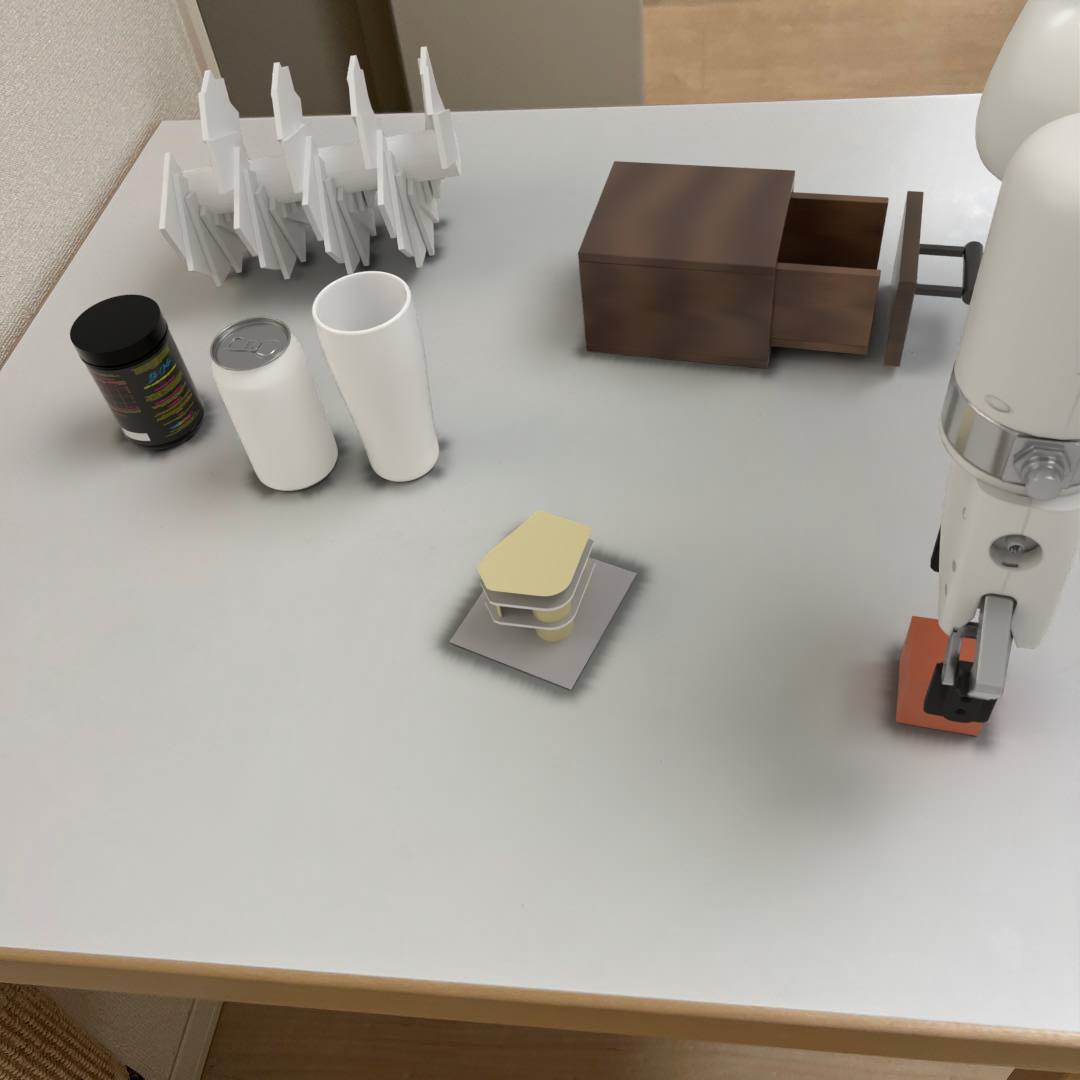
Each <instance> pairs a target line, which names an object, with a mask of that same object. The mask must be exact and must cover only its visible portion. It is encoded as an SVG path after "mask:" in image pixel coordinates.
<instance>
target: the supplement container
mask: <svg viewBox="0 0 1080 1080" xmlns="http://www.w3.org/2000/svg"><path fill="white" fill-rule="evenodd" d="M69 338H70V342H71V343H72V345H73V348H75V350H76V352H77V354H78V356H79V358H80V360H81V361H82V362H83V363H84V365H85V367H86V369H87V371H88V372H89V374H90V376H91V378H92V380H93V381H94V383H95V385H96V388H97V389H98V390H99V392H100V394H101V396H102V398H103V400H104V401H105V404H106V405H107V406H108V408H109V410H110V412H111V413H112V415H113V417H114V419H115V420H116V423H117V425H118V426H119V428H120V429H121V432H122V433H123V435H124V437H125V438H126V439H127V441H129V442H130V443H131V444H133V445H134V446H136V447H139V448H141V449H145V450H150V451H151V450H153V451H154V450H156V451H159V450H165V449H170V448H173V447H176V446H178V445H180V444H183V443H184V442H185V441H187V440H189V439H190V438H191V437H192V436H193V435H194V434H196V432H197V431H198V430H199V428H200V426H201V425H202V423H203V421H204V417H205V410H206V409H205V404H204V402H203V401H204V400H203V399H202V397H201V395H200V393H199V390H198V389H197V386H196V385H195V381H194V380H193V378H192V376H191V374H190V371H189V369H188V367H187V364H186V362H185V360H184V358H183V357H182V354H181V352H180V349H179V347H178V346H177V343H176V341H175V339H174V337H173V334H172V332H171V330H170V328H169V324H168V322H167V320H166V319H165V316H164V314H163V312H162V310H161V308H160V306H159V304H158V303H157V301H156V300H154V299H153V298H150V297H149V296H145V295H141V294H132V293H131V294H120V295H116V296H113V297H108V298H106V299H103V300H100V301H98V302H97V303H95V304H93V305H91V306H90V307H88V308H86V310H84V311H83V312H82V313H80V314H79V316H77V317H76V319H75V320H74V321H73V323H72V325H71V326H70V331H69Z"/></svg>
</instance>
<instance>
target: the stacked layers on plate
mask: <svg viewBox="0 0 1080 1080" xmlns="http://www.w3.org/2000/svg"><path fill="white" fill-rule="evenodd" d="M592 531H593V527H591V526H589V525H586V524H584V523H583V524H582V523H580V522H576V521H574V520H570V519H567V518H564V517H561V516H558V515H556V514H552V513H549V512H546V511H543V510H537V511H536V512H535V513H534V514H532V515H531V516H530V517H529V518H528V519H526V520H525V521H523V522H522V523H521V524H520V525H519V526H518V527H517V528H516V529H514V530H513V531H512V532H511V533H510V534H508V535H507V536H506V537H505V538H504V539H503V540H501V541H500V542H499V543H498V544H496V545H495V546H494V547H492V549H490V550H489V551H488V552H487V553H486V555H485V556H484V558H483V559H482V561H481V562H480V563H479V565H478V567H477V568H476V569H477V572H478V575H479V576H480V580H479V583H480V586H481V587H482V589H483V590H482V591H481V593H480V595H479V596H478V598H477V599H476V600H475V602H474V604H473V605H472V607H471V608H470V610H469V611H468V613H467V615H466V616H465V617H464V619H463V621H462V622H461V623H460V625H459V626H458V628H457V630H456V631H455V633H454V634H453V635H452V637H451V639H450V640H449V643H450V644H453V645H456V646H458V647H460V648H462V649H466V650H467V651H471V652H473V653H476V654H478V655H481V656H483V657H486V658H488V659H491V660H494V661H496V662H499V663H501V664H504V665H506V666H509V667H511V668H515V669H517V670H519V671H522V672H524V673H527V674H529V675H532V676H534V677H537V678H539V679H542V680H544V681H547V682H550V683H553V684H555V685H557V686H560V687H562V688H565V689H568V690H573V687H574V686H575V684H576V682H577V680H578V679H579V677H580V675H581V674H582V671H583V670H584V668H585V666H586V664H587V663H588V661H589V659H590V657H591V655H592V654H593V652H594V650H595V648H596V647H597V645H598V643H599V641H600V639H602V636H603V634H604V632H605V631H606V629H607V627H608V626H609V624H610V622H611V620H612V618H613V617H614V615H615V613H616V611H617V610H618V607H620V604H621V602H623V600H624V597H625V595H626V594H627V592H628V590H629V589H630V587H631V585H632V583H633V582H634V580H635V578H636V576H637V574H638V573H637V572H634V571H631V570H628V569H625V568H623V567H620V566H616V565H613V564H610V563H607V562H604V561H602V560H599V559H596V558H593V557H590V555H591V552H592V550H593V547H594V545H595V543H594V540H593V539H591V538H590V536H591V533H592Z"/></svg>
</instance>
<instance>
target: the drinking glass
mask: <svg viewBox="0 0 1080 1080" xmlns="http://www.w3.org/2000/svg"><path fill="white" fill-rule="evenodd" d="M416 308H417V307H416V305H415V301H414V298H413V296H412V292H411V288H410V287H409V285H408V284H407V282H406V281H405V280H404V279H402V278H401V277H399V276H397V275H396V274H393V273H390V272H387V271H386V272H385V271H380V270H379V271H377V270H367V271H359V272H358V271H357V272H354V273H353V274H347V275H344V276H342V277H340V278H337V279H335V280H334V281H332V282H330V283H328V284H327V285H326V286H325V287H324V288H322V290H321V291H319V293H318V294H317V295H316V296H315V298H314V300H313V302H312V305H311V316H312V319H313V322H314V323H313V324H314V327H315V331H316V334H317V338H318V341H319V344H320V347H321V350H322V353H323V355H324V359H325V362H326V364H327V367H328V370H329V371H330V374H331V377H332V378H333V380H334V382H335V385H336V387H337V389H338V391H339V393H340V396H341V399H342V400H343V402H344V405H345V406H346V408H347V411H348V413H349V416H350V418H351V420H352V422H353V424H354V427H355V429H356V431H357V434H358V435H359V438H360V440H361V441H362V445H363V447H364V449H365V452H366V455H367V458H368V461H369V464H370V467H371V468H372V470H373V472H375V473H376V474H377V475H378V476H379V477H381V478H382V479H383V480H387V481H390V482H395V483H396V482H397V483H402V482H403V483H404V482H409V481H414V480H416V479H419V478H421V477H423V476H424V475H426V474H428V472H430V471H431V470H432V469H433V468H434V466H435V465H436V464H437V461H438V459H439V455H440V445H439V440H438V436H437V433H436V426H435V418H434V413H433V412H434V411H433V403H432V397H431V388H430V382H429V373H428V364H427V357H426V352H425V343H424V339H423V338H424V337H423V333H422V329H421V328H422V327H421V324H420V320H419V316H418V311H417V309H416Z"/></svg>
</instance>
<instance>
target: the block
mask: <svg viewBox="0 0 1080 1080" xmlns="http://www.w3.org/2000/svg"><path fill="white" fill-rule="evenodd" d="M947 640H948V635H947V634H946V633H945V632H944V631H943V630H942V629H941V627H940V626H939V623H938V618H931V617H923V616H917V615H912V616H911V619H910V621H909V625H908V630H907V633H906V636H905V640H904V644H903V646H902V647H903V648H902V650H901V654H900V658H899V670H898V682H897V683H898V685H897V686H898V687H897V698H896V699H897V700H896V715H895V722H896V723H897V724H898V723H899V724H904V725H910V726H916V727H922V728H928V729H933V730H940V731H946V732H952V733H957V734H961V735H962V734H964V735H970V736H975V737H978V736H979V734H980V732H981V730H982V728H983V725H984V723H978V722H970V723H960V722H954V721H950V720H947V719H945V718H944V717H943V716H937V715H931V714H927V713H925V712H924V711H923V707H924V699H925V696H926V693H927V690H928V687H929V684H930V681H931V678H932V675H933V672H934V669H935V666H936V663H941V662H944V657H945V651H946V646H947ZM975 647H976V639H972V638H965V637H963V640H962V645H961V651H960V657H959V660H963V661H969V662H974V656H975Z"/></svg>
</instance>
